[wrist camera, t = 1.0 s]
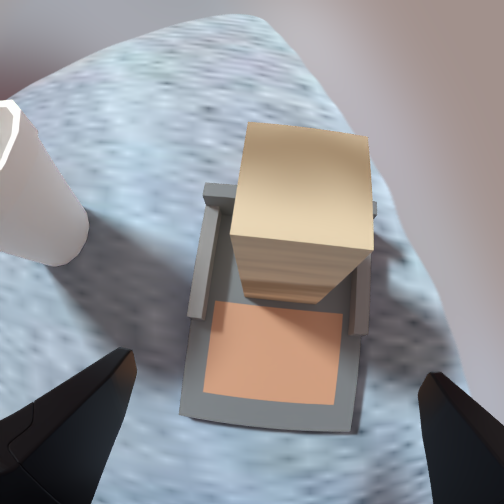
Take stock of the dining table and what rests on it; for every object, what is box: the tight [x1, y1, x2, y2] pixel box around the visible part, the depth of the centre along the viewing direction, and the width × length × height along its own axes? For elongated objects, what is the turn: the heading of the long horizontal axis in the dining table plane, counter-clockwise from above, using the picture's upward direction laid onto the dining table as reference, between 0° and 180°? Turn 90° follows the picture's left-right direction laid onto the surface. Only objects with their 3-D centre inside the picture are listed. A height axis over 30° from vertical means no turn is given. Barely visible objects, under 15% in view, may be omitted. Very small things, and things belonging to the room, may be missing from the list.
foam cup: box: [0, 100, 89, 267], centre depth 19 cm, size 10×9×13 cm
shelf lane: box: [179, 183, 377, 432], centre depth 21 cm, size 16×12×4 cm
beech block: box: [230, 122, 374, 305], centre depth 17 cm, size 5×5×12 cm
